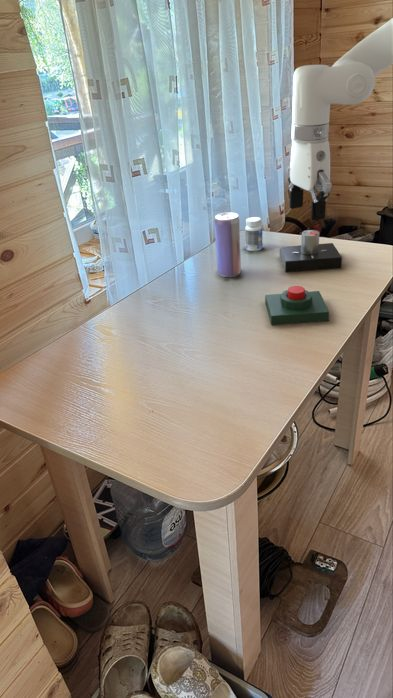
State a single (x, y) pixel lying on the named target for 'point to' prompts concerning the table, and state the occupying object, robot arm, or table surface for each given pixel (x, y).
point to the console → (310, 258)
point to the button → (296, 293)
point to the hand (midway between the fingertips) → (306, 213)
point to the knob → (310, 242)
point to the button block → (296, 308)
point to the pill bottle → (253, 234)
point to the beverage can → (228, 244)
